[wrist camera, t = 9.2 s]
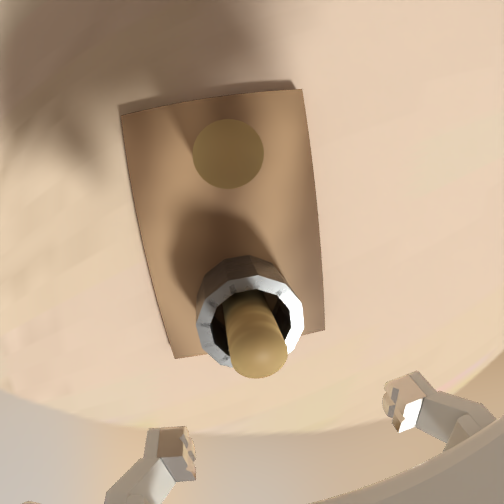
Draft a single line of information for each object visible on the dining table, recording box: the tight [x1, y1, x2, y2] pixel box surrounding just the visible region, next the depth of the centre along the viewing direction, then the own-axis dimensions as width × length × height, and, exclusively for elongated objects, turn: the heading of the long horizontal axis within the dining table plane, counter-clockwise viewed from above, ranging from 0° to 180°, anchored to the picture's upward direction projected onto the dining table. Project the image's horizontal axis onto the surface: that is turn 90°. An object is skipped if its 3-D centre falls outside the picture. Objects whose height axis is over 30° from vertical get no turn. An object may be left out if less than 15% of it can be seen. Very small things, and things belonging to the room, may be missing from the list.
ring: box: [196, 255, 304, 368], centre depth 20 cm, size 6×6×4 cm
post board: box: [121, 89, 325, 378], centre depth 18 cm, size 12×18×8 cm, turn 8°
